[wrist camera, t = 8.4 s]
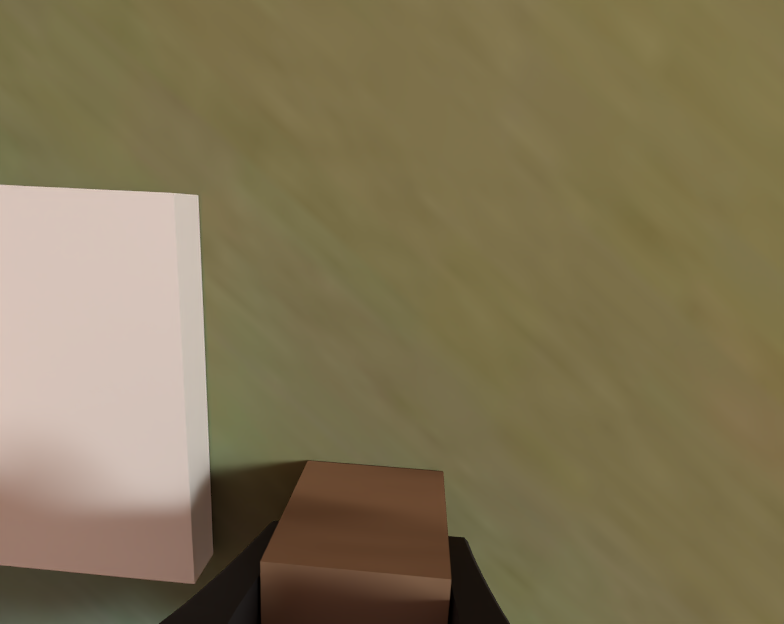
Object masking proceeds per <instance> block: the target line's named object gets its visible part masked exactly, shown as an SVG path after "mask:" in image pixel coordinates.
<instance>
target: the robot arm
mask: <svg viewBox="0 0 784 624" xmlns="http://www.w3.org/2000/svg"><path fill="white" fill-rule="evenodd" d="M278 523H279V521H273V522H271V523H270V524H269V525H268V526H267V527H266V528H265V529H264V530H263V531H262V532H261V533H260V534H259V535H258V536H257V537H256V538H255V539H254V540H253V542H252V543H251V544H250V545H249V546H248V547H247V548H246V549H245V550H244V551H243V552H242V553H241V554H240V555H239V556H237V557H236V558H235V559H234V560H233V561H232V562H231V563H230V564H229V565H228V566H227V567H226V568H225V569H224V570H223V571H222V572H221V573H220V574H218V575H217V576H216V577H215V578H214V579H213V580H212V581H211V582H209V583H208V584H207V585H206V586H205V587H204V588H203V589H201V590H200V591H199V592H198V593H197V594H196V595H195V596H193V597H192V598H191V599H190V600H189V601H187V602H186V603H185V604H184V605H182V606H181V607H180V608H179V609H177V610H176V611H175V612H174V613H172V614H171V615H170V616H168V617H167V618H166V619H164V620H163V621H162V622H160V623H159V624H261V578H260V561H261V559H262V557H263V555H264V552H265V550H266V548H267V546H268V544H269V542H270V540H271V538H272V536H273V533H274V531H275V529H276V527H277V525H278ZM448 541H449V554H450V567H451V590H450V601H449V613H448V624H510V623H509V621H508V620H507V618H506V616H505V615H504V613H503V611H502V610H501V608H500V606H499V605H498V603H497V601H496V599H495V597H494V596H493V594H492V592H491V590H490V589H489V587H488V585H487V583H486V581H485V579H484V577H483V575H482V573H481V571H480V569H479V567H478V565H477V563H476V561H475V558H474V556H473V554H472V551H471V549H470V546H469V544H468V541H467V540H466V539H465V538H463V537H452V536H448Z"/></svg>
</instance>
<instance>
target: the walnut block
mask: <svg viewBox="0 0 784 624" xmlns="http://www.w3.org/2000/svg"><path fill="white" fill-rule="evenodd" d="M260 578H261V624H448V613H449V601H450V590H451V567H450V554H449V541H448V528H447V515H446V502H445V489H444V476H443V471H431V470H418V469H406V468H393V467H381V466H369V465H356V464H344V463H331V462H319V461H307V463H306V466H305V468H304V470H303V472H302V474H301V476H300V478H299V480H298V482H297V485H296V487H295V489H294V491H293V493H292V495H291V497H290V499H289V502H288V504H287V506H286V508H285V510H284V512H283V514H282V516H281V519H280V521H279V523H278V525H277V527H276V529H275V531H274V533H273V536H272V538H271V540H270V542H269V544H268V546H267V548H266V550H265V552H264V555H263V557H262V559H261V561H260Z"/></svg>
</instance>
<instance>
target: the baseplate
mask: <svg viewBox="0 0 784 624" xmlns="http://www.w3.org/2000/svg"><path fill="white" fill-rule="evenodd" d="M212 555H213V533H212V509H211V486H210V462H209V438H208V415H207V391H206V367H205V343H204V320H203V296H202V272H201V249H200V225H199V201H198V195H189V194H178V193H160V192H139V191H118V190H97V189H76V188H54V187H33V186H12V185H0V565H4V566H15V567H25V568H35V569H45V570H56V571H66V572H76V573H87V574H97V575H107V576H117V577H128V578H138V579H148V580H158V581H169V582H179V583H189V584H195V583H196V581H197V579H198V578H199V576H200V575H201V573H202V571H203V570H204V568H205V566H206V565H207V563H208V562H209V560H210V558H211V557H212Z"/></svg>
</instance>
